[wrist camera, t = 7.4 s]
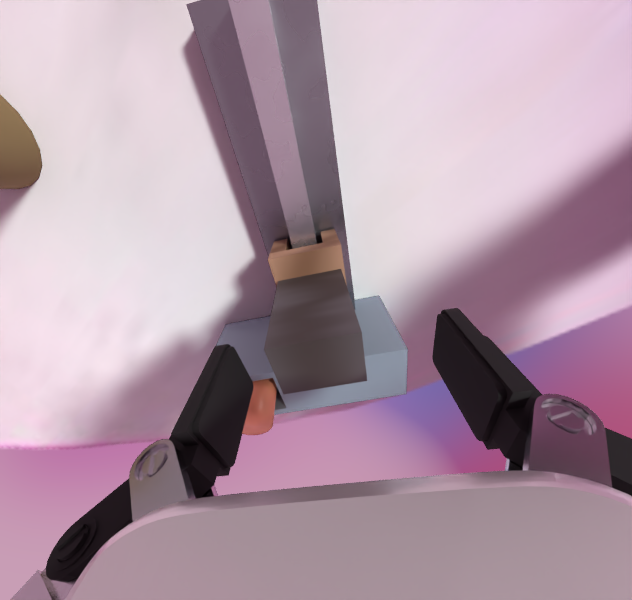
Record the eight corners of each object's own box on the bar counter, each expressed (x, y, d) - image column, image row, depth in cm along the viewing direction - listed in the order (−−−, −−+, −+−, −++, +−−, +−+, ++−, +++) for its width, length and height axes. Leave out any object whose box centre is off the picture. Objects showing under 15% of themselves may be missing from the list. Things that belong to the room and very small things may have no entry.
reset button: (275, 344, 20) (265, 407, 15) (284, 367, 22) (278, 431, 17) (242, 349, 20) (221, 414, 15) (253, 372, 22) (238, 437, 17)
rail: (312, -11, 12) (314, -69, 9) (352, 300, 22) (360, 323, 19) (198, 20, 12) (164, -24, 9) (290, 312, 22) (288, 336, 19)
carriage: (334, 228, 16) (363, 300, 8) (345, 299, 19) (373, 399, 11) (274, 241, 16) (245, 321, 9) (294, 308, 20) (287, 412, 12)
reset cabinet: (379, 295, 21) (407, 349, 16) (381, 335, 24) (406, 393, 18) (225, 324, 22) (197, 384, 17) (244, 359, 25) (225, 422, 19)
